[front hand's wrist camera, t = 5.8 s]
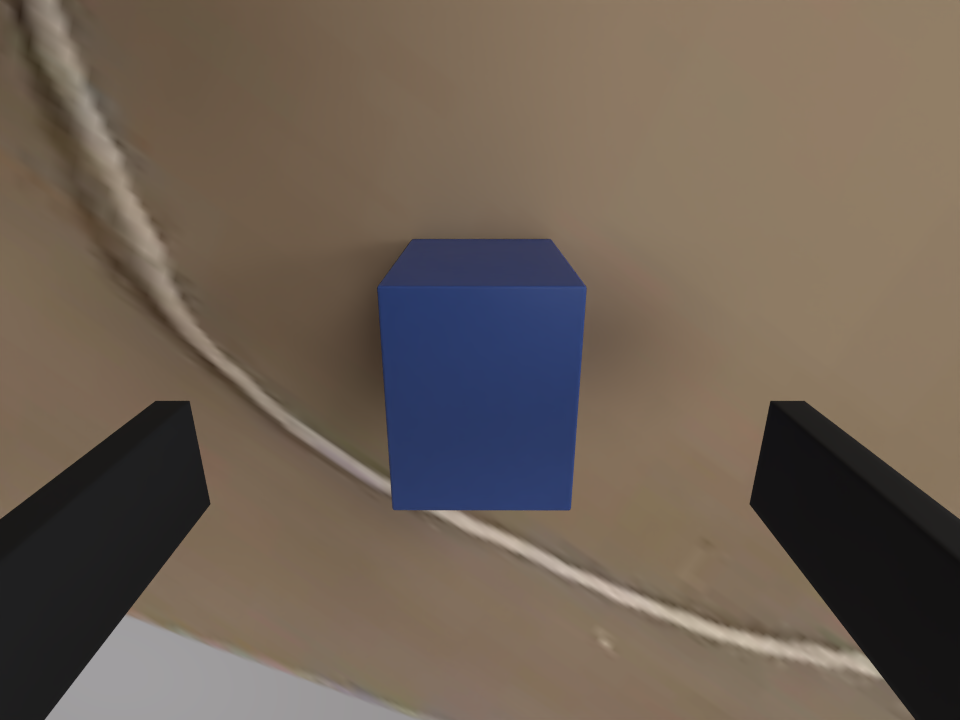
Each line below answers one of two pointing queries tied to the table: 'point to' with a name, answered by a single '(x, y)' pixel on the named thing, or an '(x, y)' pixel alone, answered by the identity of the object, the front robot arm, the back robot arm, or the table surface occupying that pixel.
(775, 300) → the table surface
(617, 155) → the table surface
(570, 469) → the brick
